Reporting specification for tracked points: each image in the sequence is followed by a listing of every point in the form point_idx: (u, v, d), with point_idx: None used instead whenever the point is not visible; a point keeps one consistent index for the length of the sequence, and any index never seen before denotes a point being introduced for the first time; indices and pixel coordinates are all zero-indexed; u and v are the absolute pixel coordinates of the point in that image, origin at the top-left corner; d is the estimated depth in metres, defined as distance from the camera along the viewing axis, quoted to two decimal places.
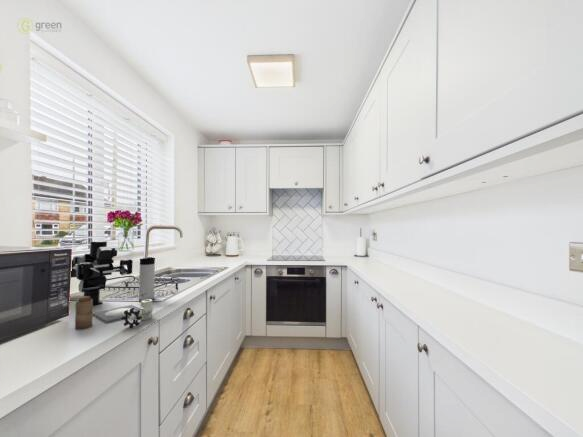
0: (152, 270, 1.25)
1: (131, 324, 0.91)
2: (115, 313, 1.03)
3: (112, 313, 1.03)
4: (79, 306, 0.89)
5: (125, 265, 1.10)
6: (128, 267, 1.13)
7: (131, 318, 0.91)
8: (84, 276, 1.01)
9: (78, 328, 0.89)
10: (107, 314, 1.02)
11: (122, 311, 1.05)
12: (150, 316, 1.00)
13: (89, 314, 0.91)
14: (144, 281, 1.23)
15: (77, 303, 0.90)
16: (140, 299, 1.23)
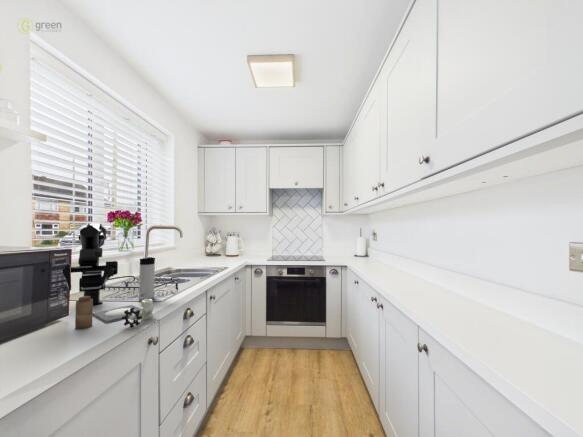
0: (152, 270, 1.25)
1: (131, 324, 0.91)
2: (115, 313, 1.03)
3: (112, 313, 1.03)
4: (79, 306, 0.89)
5: (105, 274, 1.01)
6: (111, 272, 1.04)
7: (131, 318, 0.91)
8: None
9: (78, 328, 0.89)
10: (107, 314, 1.02)
11: (122, 311, 1.05)
12: (150, 316, 1.01)
13: (89, 314, 0.91)
14: (144, 281, 1.23)
15: (77, 303, 0.90)
16: (140, 299, 1.23)
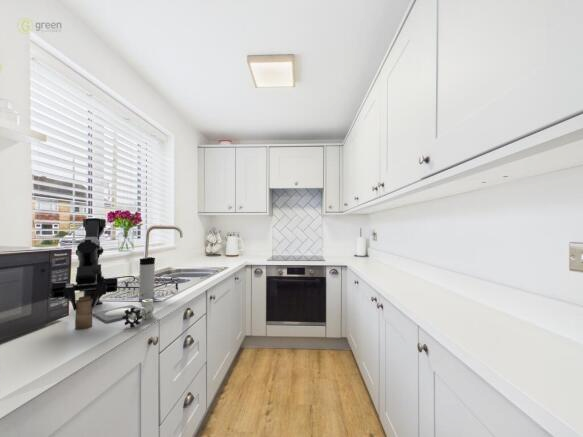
0: (152, 270, 1.25)
1: (132, 323, 0.92)
2: (115, 313, 1.03)
3: (112, 313, 1.03)
4: (79, 306, 0.89)
5: (97, 293, 0.94)
6: (104, 290, 0.97)
7: (132, 317, 0.92)
8: (66, 296, 0.92)
9: (78, 328, 0.89)
10: (107, 314, 1.02)
11: (122, 311, 1.05)
12: (151, 315, 1.01)
13: (89, 314, 0.91)
14: (144, 281, 1.23)
15: (77, 303, 0.90)
16: (140, 299, 1.23)
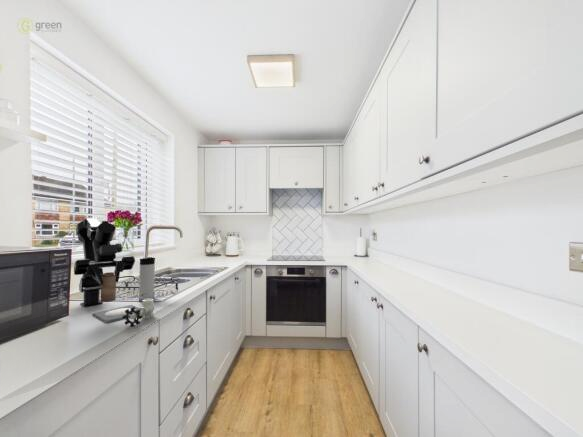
0: (152, 270, 1.25)
1: (132, 323, 0.92)
2: (115, 313, 1.03)
3: (112, 313, 1.03)
4: (106, 280, 0.97)
5: (119, 270, 1.03)
6: (122, 267, 1.06)
7: (132, 317, 0.92)
8: (88, 273, 0.99)
9: (105, 301, 0.97)
10: (107, 314, 1.02)
11: (122, 311, 1.05)
12: (151, 315, 1.01)
13: (114, 288, 0.99)
14: (144, 281, 1.23)
15: (104, 278, 0.97)
16: (140, 299, 1.23)
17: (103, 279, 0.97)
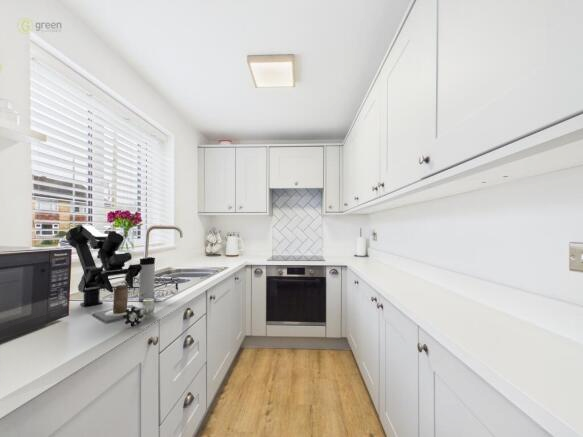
0: (152, 270, 1.25)
1: (132, 322, 0.92)
2: None
3: (112, 313, 1.03)
4: (120, 293, 1.03)
5: (131, 277, 1.09)
6: (133, 274, 1.12)
7: (132, 317, 0.92)
8: (96, 282, 1.02)
9: (119, 312, 1.03)
10: (107, 314, 1.02)
11: None
12: (152, 315, 1.02)
13: None
14: (144, 281, 1.23)
15: (118, 291, 1.03)
16: (140, 299, 1.23)
17: (117, 292, 1.03)
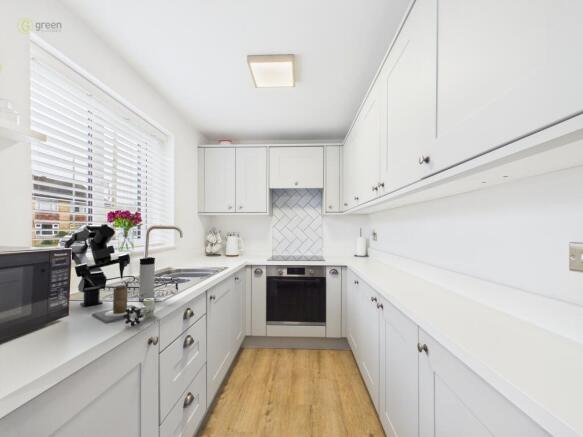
0: (152, 270, 1.25)
1: (132, 322, 0.93)
2: None
3: (112, 313, 1.03)
4: (120, 293, 1.03)
5: (121, 268, 1.13)
6: (125, 263, 1.16)
7: (132, 316, 0.93)
8: (83, 276, 1.08)
9: (119, 312, 1.03)
10: (107, 314, 1.02)
11: None
12: (152, 314, 1.02)
13: (126, 300, 1.05)
14: (144, 281, 1.23)
15: (117, 291, 1.03)
16: (140, 299, 1.23)
17: (117, 292, 1.03)
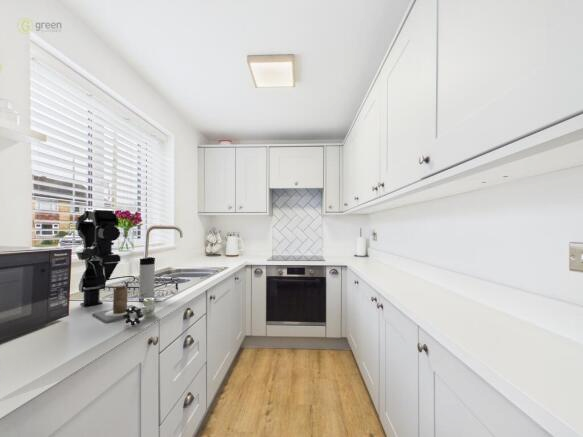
0: (152, 270, 1.25)
1: (132, 322, 0.93)
2: None
3: (112, 313, 1.03)
4: (120, 293, 1.03)
5: (104, 269, 1.05)
6: (110, 264, 1.05)
7: (132, 316, 0.93)
8: None
9: (119, 312, 1.03)
10: (107, 314, 1.02)
11: None
12: (152, 314, 1.02)
13: (126, 300, 1.05)
14: (144, 281, 1.23)
15: (117, 291, 1.03)
16: (140, 299, 1.23)
17: (117, 292, 1.03)
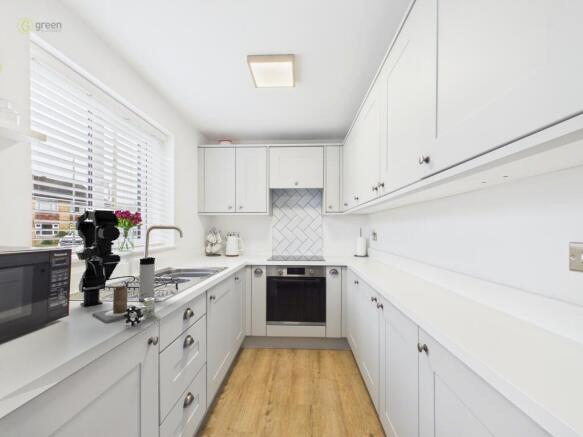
0: (152, 270, 1.25)
1: (132, 322, 0.93)
2: None
3: (112, 313, 1.03)
4: (120, 293, 1.03)
5: (104, 269, 1.05)
6: None
7: (132, 316, 0.93)
8: None
9: (119, 312, 1.03)
10: (107, 314, 1.02)
11: None
12: (152, 314, 1.03)
13: (126, 300, 1.05)
14: (144, 281, 1.23)
15: (117, 291, 1.03)
16: (140, 299, 1.23)
17: (117, 292, 1.03)
